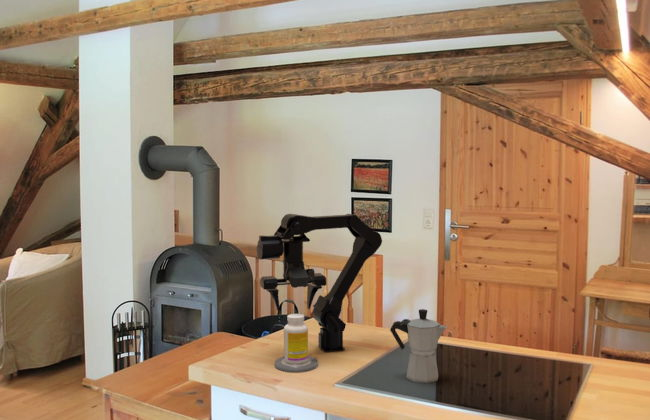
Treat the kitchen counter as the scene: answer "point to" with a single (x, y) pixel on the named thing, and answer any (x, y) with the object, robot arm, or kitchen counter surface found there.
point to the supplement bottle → (295, 340)
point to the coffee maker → (420, 346)
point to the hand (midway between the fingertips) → (293, 310)
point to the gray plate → (296, 365)
